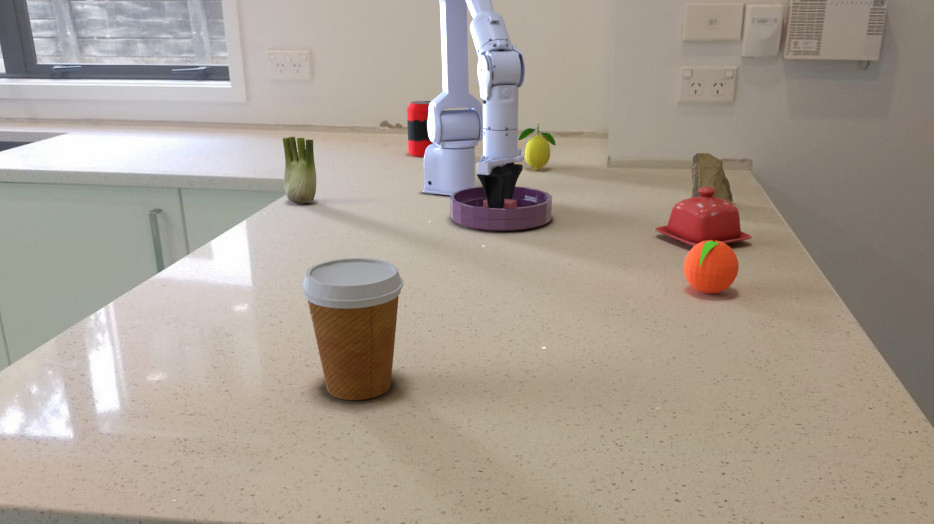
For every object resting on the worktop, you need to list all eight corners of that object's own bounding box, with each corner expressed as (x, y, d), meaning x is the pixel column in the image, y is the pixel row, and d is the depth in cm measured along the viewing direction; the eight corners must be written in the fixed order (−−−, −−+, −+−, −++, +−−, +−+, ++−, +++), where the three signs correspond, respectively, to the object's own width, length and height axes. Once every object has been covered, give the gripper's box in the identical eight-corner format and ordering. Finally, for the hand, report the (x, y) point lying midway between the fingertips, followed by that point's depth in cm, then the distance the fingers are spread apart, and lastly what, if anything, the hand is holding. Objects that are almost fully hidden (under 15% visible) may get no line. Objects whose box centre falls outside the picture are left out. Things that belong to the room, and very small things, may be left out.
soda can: (446, 153, 201) (445, 101, 196) (427, 158, 195) (426, 105, 190) (421, 150, 204) (420, 99, 200) (401, 155, 199) (400, 102, 194)
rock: (723, 185, 159) (675, 180, 157) (745, 154, 152) (696, 148, 150) (737, 230, 154) (688, 226, 151) (761, 200, 147) (710, 195, 144)
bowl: (433, 226, 139) (433, 202, 138) (475, 203, 154) (475, 182, 153) (530, 237, 133) (531, 213, 132) (564, 213, 148) (565, 191, 147)
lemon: (517, 171, 181) (518, 124, 178) (526, 166, 186) (527, 121, 183) (546, 174, 179) (548, 126, 175) (555, 169, 184) (556, 123, 180)
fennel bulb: (321, 203, 153) (316, 136, 149) (299, 207, 150) (293, 140, 146) (303, 198, 157) (298, 133, 153) (280, 202, 154) (274, 136, 149)
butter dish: (697, 254, 125) (702, 198, 122) (650, 235, 135) (654, 183, 132) (755, 245, 130) (762, 191, 127) (706, 227, 140) (711, 176, 137)
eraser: (483, 218, 143) (483, 200, 141) (489, 214, 145) (490, 197, 144) (510, 221, 141) (510, 203, 140) (516, 217, 143) (517, 199, 142)
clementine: (722, 307, 105) (729, 252, 102) (670, 297, 108) (675, 243, 105) (742, 289, 111) (748, 237, 108) (692, 280, 114) (697, 229, 112)
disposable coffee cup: (316, 367, 87) (306, 257, 83) (408, 365, 88) (404, 255, 83) (303, 410, 78) (292, 288, 74) (406, 407, 79) (401, 286, 75)
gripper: (506, 136, 130) (505, 221, 135) (538, 123, 142) (536, 202, 147) (464, 133, 132) (465, 217, 137) (499, 121, 144) (499, 198, 150)
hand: (499, 209), depth 142 cm, fingers closed on eraser, 3 cm apart
